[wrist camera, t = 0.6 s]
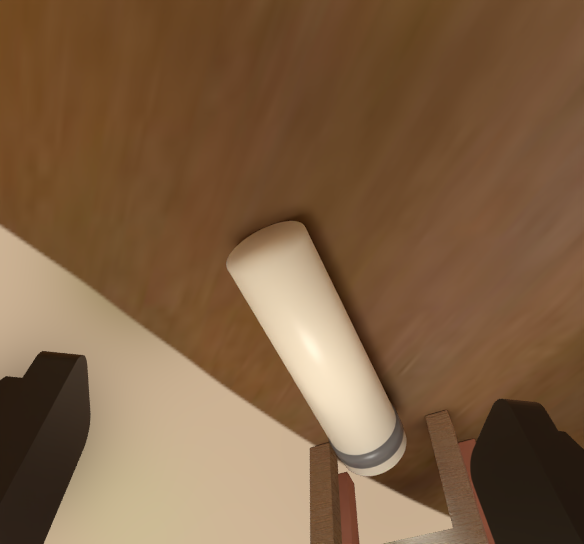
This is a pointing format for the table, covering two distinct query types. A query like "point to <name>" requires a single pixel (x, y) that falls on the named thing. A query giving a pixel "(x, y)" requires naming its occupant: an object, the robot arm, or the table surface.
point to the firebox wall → (349, 503)
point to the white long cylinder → (318, 345)
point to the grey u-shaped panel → (458, 491)
